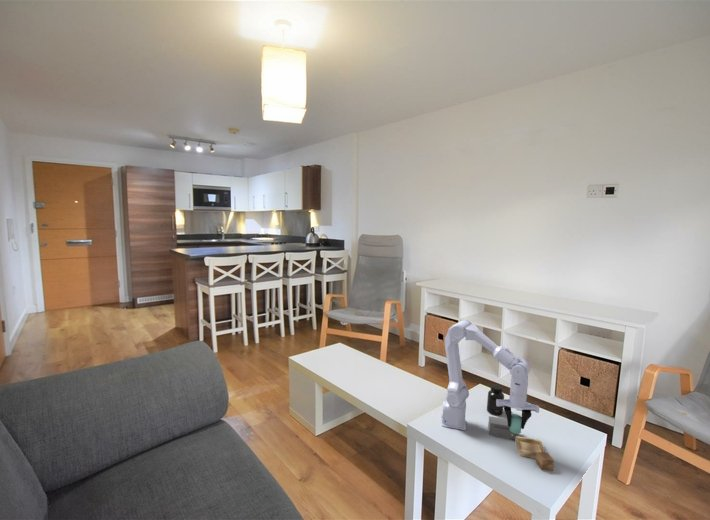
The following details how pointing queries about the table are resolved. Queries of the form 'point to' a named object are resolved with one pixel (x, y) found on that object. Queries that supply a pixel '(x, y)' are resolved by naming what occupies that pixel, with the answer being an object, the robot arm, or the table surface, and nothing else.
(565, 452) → the table surface
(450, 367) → the robot arm
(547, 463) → the walnut block
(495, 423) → the gray block
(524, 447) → the birch tray
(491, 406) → the supplement bottle
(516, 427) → the teal peg
